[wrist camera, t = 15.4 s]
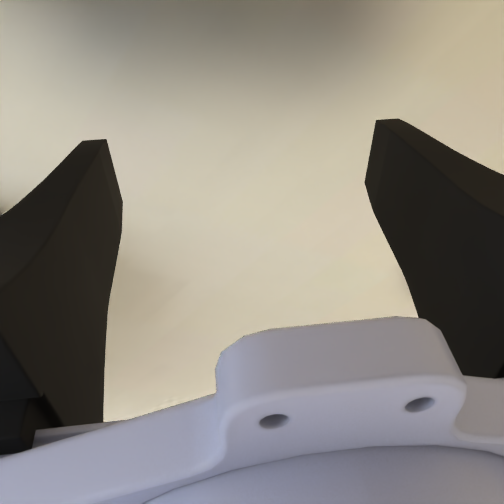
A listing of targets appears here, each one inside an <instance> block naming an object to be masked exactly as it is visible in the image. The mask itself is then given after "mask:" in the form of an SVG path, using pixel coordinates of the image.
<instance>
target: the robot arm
mask: <svg viewBox="0 0 504 504" xmlns="http://www.w3.org/2000/svg"><path fill="white" fill-rule="evenodd" d="M365 185H366V189H367V193H368V196H369V200H370V203H371V206H372V209H373V212H374V214H375V216H376V218H377V220H378V223H379V225H380V227H381V229H382V231H383V233H384V235H385V237H386V239H387V241H388V243H389V245H390V247H391V249H392V251H393V253H394V256H395V258H396V260H397V262H398V264H399V266H400V268H401V270H402V272H403V275H404V277H405V279H406V282H407V284H408V287H409V290H410V293H411V296H412V299H413V302H414V305H415V307H416V310H417V314H418V317H419V318H411V317H398V316H394V317H384V318H374V319H364V320H354V321H344V322H334V323H324V324H314V325H304V326H294V327H284V328H274V329H268V330H264V331H260V332H257V333H253V334H249V335H245V336H243V337H242V338H240V339H239V340H237V341H236V342H235V343H233V344H232V345H230V346H229V347H228V348H226V349H225V350H224V351H222V352H221V354H220V357H219V360H218V363H217V365H216V368H215V374H216V390H217V392H216V393H214V394H211V395H208V396H204V397H201V398H198V399H194V400H191V401H188V402H185V403H181V404H178V405H175V406H171V407H168V408H165V409H161V410H158V411H155V412H152V413H148V414H145V415H142V416H138V417H135V418H132V419H128V420H120V421H111V422H103V402H104V367H105V346H106V329H107V314H108V305H109V298H110V292H111V287H112V282H113V276H114V271H115V266H116V261H117V255H118V250H119V244H120V239H121V233H122V207H123V201H122V197H121V194H120V190H119V186H118V182H117V178H116V174H115V170H114V167H113V163H112V159H111V155H110V151H109V147H108V143H107V140H106V139H101V140H87V141H82V142H81V143H80V144H79V145H78V146H77V147H76V148H75V149H74V150H73V151H72V152H71V153H70V154H69V155H68V156H67V157H66V158H65V159H64V160H63V161H62V162H61V163H60V164H59V165H58V166H57V167H56V168H55V169H54V170H53V171H52V172H51V173H50V174H49V175H48V176H47V177H46V178H45V179H44V180H43V181H42V182H41V183H40V184H39V185H38V186H37V187H36V188H34V189H33V190H32V191H31V192H30V193H29V194H28V195H27V196H26V197H24V198H23V199H22V200H21V201H20V202H19V203H18V204H16V205H15V206H14V207H13V208H11V209H10V210H9V211H7V212H6V213H5V214H3V215H2V216H1V217H0V504H504V175H503V174H500V173H498V172H496V171H494V170H491V169H489V168H487V167H485V166H483V165H481V164H479V163H477V162H475V161H473V160H471V159H469V158H467V157H466V156H464V155H462V154H460V153H458V152H457V151H455V150H453V149H451V148H450V147H448V146H446V145H444V144H443V143H441V142H439V141H438V140H436V139H434V138H433V137H431V136H429V135H428V134H426V133H424V132H422V131H421V130H419V129H417V128H416V127H414V126H412V125H410V124H408V123H407V122H405V121H402V120H400V119H385V120H376V123H375V129H374V134H373V140H372V145H371V151H370V156H369V161H368V167H367V172H366V178H365Z"/></svg>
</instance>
